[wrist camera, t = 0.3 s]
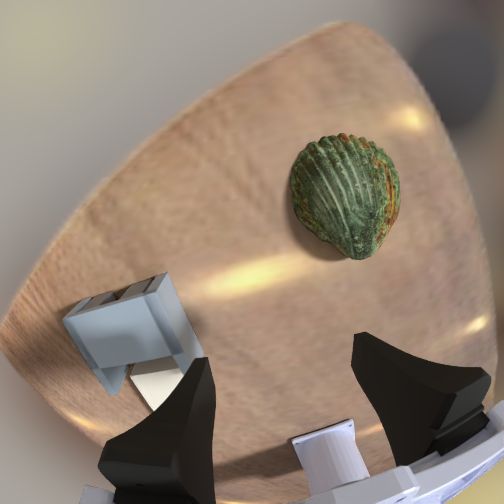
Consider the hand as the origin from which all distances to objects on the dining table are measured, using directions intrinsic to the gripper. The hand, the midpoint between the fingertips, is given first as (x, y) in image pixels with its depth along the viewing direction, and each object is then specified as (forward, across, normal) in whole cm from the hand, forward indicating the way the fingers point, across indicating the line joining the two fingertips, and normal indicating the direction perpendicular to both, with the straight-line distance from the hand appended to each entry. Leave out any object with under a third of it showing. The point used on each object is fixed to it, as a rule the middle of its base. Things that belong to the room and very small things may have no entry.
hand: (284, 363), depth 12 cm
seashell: (+10, -8, -7) cm, 15 cm away
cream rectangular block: (+10, +10, +10) cm, 17 cm away
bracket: (+10, +11, +3) cm, 15 cm away
